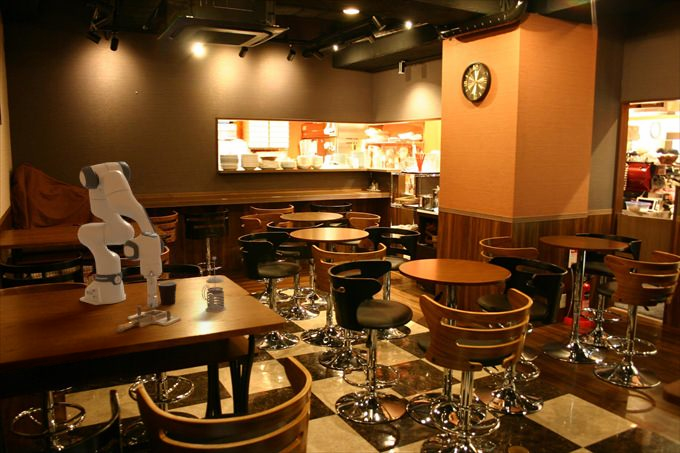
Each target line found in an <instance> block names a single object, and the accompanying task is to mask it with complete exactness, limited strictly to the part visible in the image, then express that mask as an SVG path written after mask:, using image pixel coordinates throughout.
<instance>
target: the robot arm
mask: <svg viewBox="0 0 680 453" xmlns="http://www.w3.org/2000/svg"><path fill="white" fill-rule="evenodd" d="M131 172H132V171H131V169H130V166H129V164H127V163H126V162H125V161H116V162H115V161H114V162H111V161H110V162H102V163H99V164H95V165H94V164H93V165H87V166H84V167H83V168H81V170H80V171H79V180H80V183H81V185H82V187H83V188H85V189H87V190H88V196H89V204H90V211H91V213H92V215H94V216H95V217H97V218H99V219H101V220H102V221H104V222H89V223H86V224H82V225H81V226H80V227H79V229H78V231H77V238H78V240H79V242H80V243H81V244H82V245H83V246H85V247H87V248H88V249H89V251H90V252H91V253H92V254H93V258H94V260H95V269H96V270H95V271H96V273H94V274H92V277H94V279H93V281H92V282H91V283H90V284H89V285H88V286H86V288H85V289H84V296H82V297H80V298H79V300H80V301H81V302H85V303H88V304H90V305H94V306H98V305H108V304H109V305H110V304H117V303H121V302H123V301H125V300H126V299H127V294H126V293H125V288H124V287H125V286H124V283H123V282H124V281H123V280H122V279H123V273H122V271H121V269H122V268H121V258H120V256H119V254H117V253H116V252H114V251H113V250H112V251H111V250H110V249H108V247H107V246H114V245H119V246H121V245H123V247H122V248H123V250H122V252H123V256H124V257H125V258H126V259H127V260H129V261H131V262H133V261H134V262H135V261H140V262H139V267H140V275H142V276H143V278H144V279H146V288H147V289H146V290H147V292H146V293H147V296H150V302H151V303H153V302H155V295H157V282H158V281H157V280H158V278H159V277H160V274H162V273H163V266H162V265H163V264H162V259H161V255H162V254H163V253H164V250H165V243H164V241H163V239H162V238H161V237H160V235H159V233H158V232H157V230H156V228H155V226H154V224H153V222H152V220H151V218H150V217H149V215H148V214H149V213H147V211H146V208H145V207H144V206H143V205H142V204H141V203H140V202H138V200H137V199H136V197H135V196H134V194H133V191H132V189H131V186H130V183H129V181H130V180H131V176H132V174H131ZM122 216H125V217H128V218H130V219H132V220H133V221H135V222H136V223H137V225H138V228H139V229H140V230H141V233H140V234H139V235H138V236H136V237H135V229H134V227H133V225H132V224H131V223H129V222H128V221H126V220H125V219H123V218H122ZM80 301H79V302H80Z"/></svg>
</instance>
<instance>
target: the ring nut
mask: <svg viewBox="0 0 680 453" xmlns="http://www.w3.org/2000/svg"><path fill="white" fill-rule="evenodd" d="M146 300H147V308H149V309H155V308H157V307H159V296H158V295H157V294H156V295H155V302H153V303H151V302H150V295H147V297H146Z"/></svg>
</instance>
